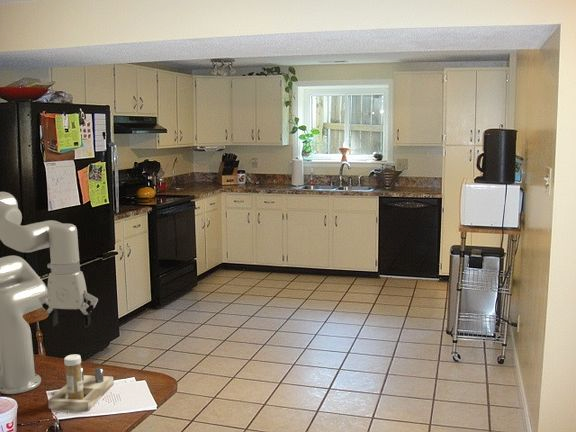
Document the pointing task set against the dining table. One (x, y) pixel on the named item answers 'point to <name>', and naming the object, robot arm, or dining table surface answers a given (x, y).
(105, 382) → the cream square frame
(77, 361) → the sprinkles bottle
